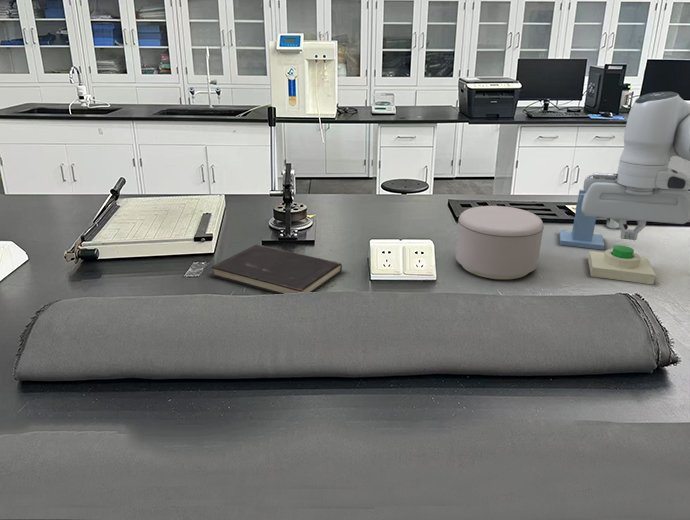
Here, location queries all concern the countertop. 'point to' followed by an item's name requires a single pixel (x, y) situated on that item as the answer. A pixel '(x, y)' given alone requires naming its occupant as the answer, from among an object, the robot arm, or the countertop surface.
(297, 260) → the hardcover book
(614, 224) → the milkshake
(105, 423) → the countertop surface
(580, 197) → the lever bracket
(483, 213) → the container
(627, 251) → the light button
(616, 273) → the switch block
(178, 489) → the countertop surface
